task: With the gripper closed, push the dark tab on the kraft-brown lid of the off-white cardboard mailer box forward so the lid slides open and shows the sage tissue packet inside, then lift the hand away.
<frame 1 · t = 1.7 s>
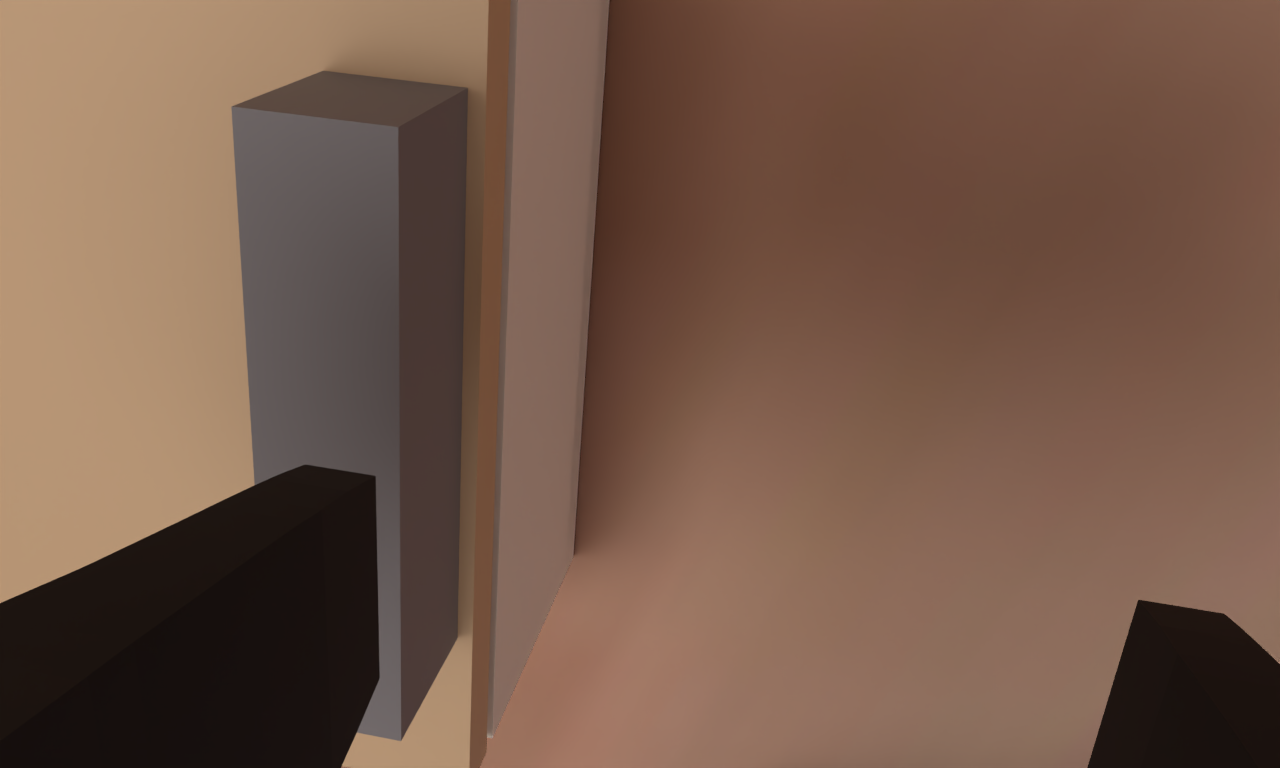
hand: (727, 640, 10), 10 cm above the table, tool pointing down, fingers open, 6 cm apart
mailer base: (190, 187, 21), on the table
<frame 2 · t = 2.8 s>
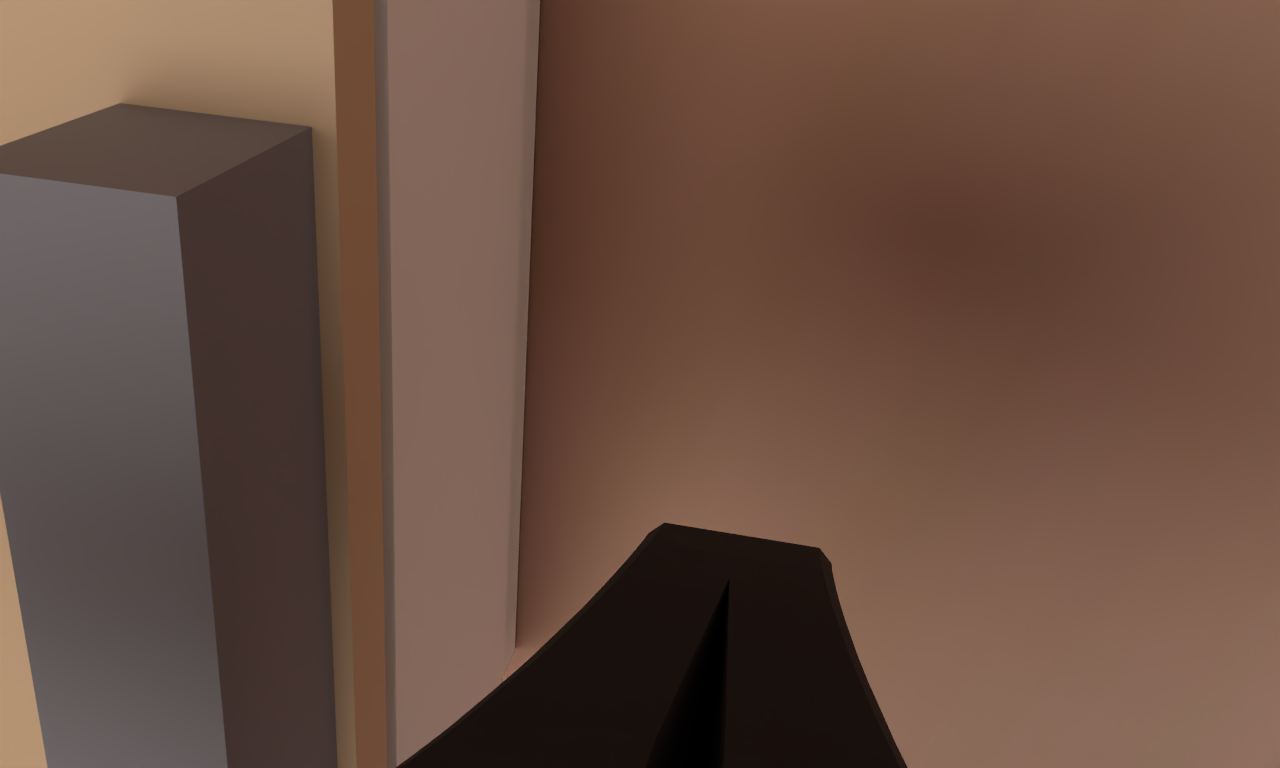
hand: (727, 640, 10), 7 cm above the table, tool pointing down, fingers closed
mailer base: (50, 221, 17), on the table
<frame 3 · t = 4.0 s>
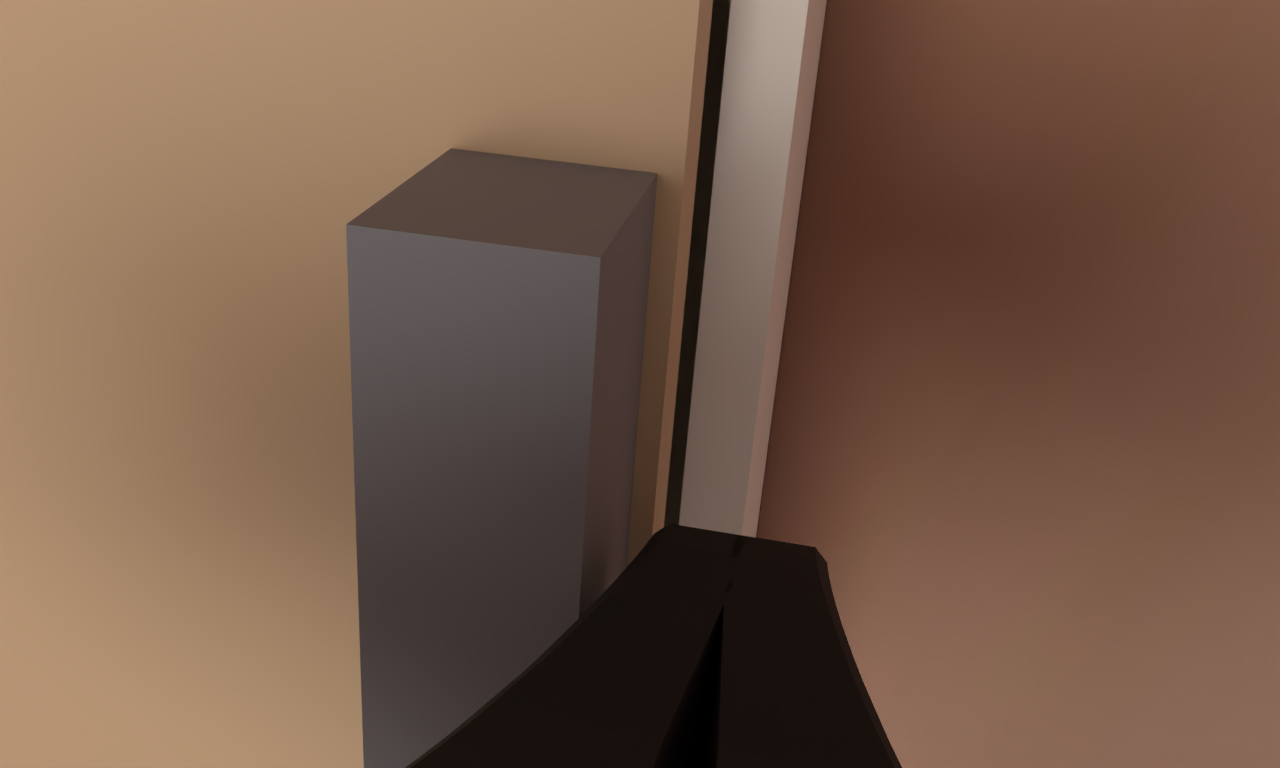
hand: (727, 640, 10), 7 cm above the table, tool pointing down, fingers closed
mailer base: (278, 257, 17), on the table
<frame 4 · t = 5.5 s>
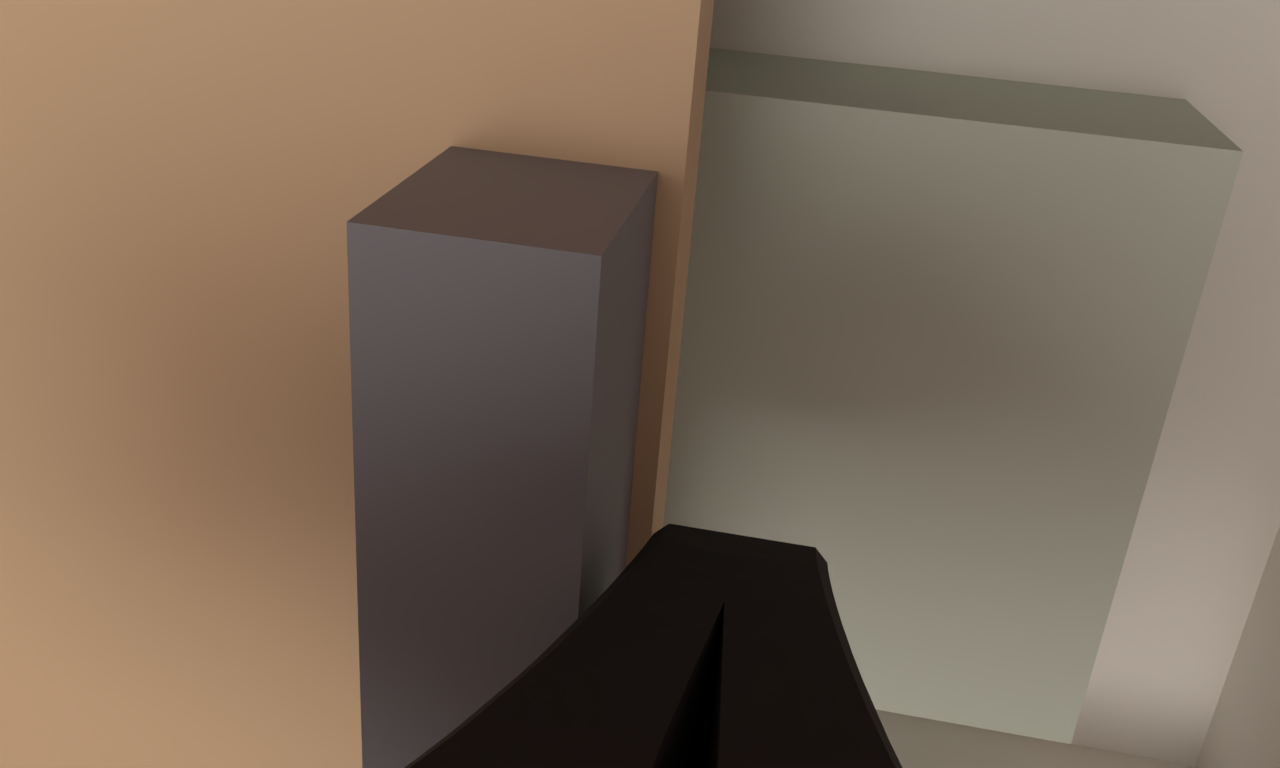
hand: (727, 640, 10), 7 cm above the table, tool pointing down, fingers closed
mailer base: (784, 324, 16), on the table
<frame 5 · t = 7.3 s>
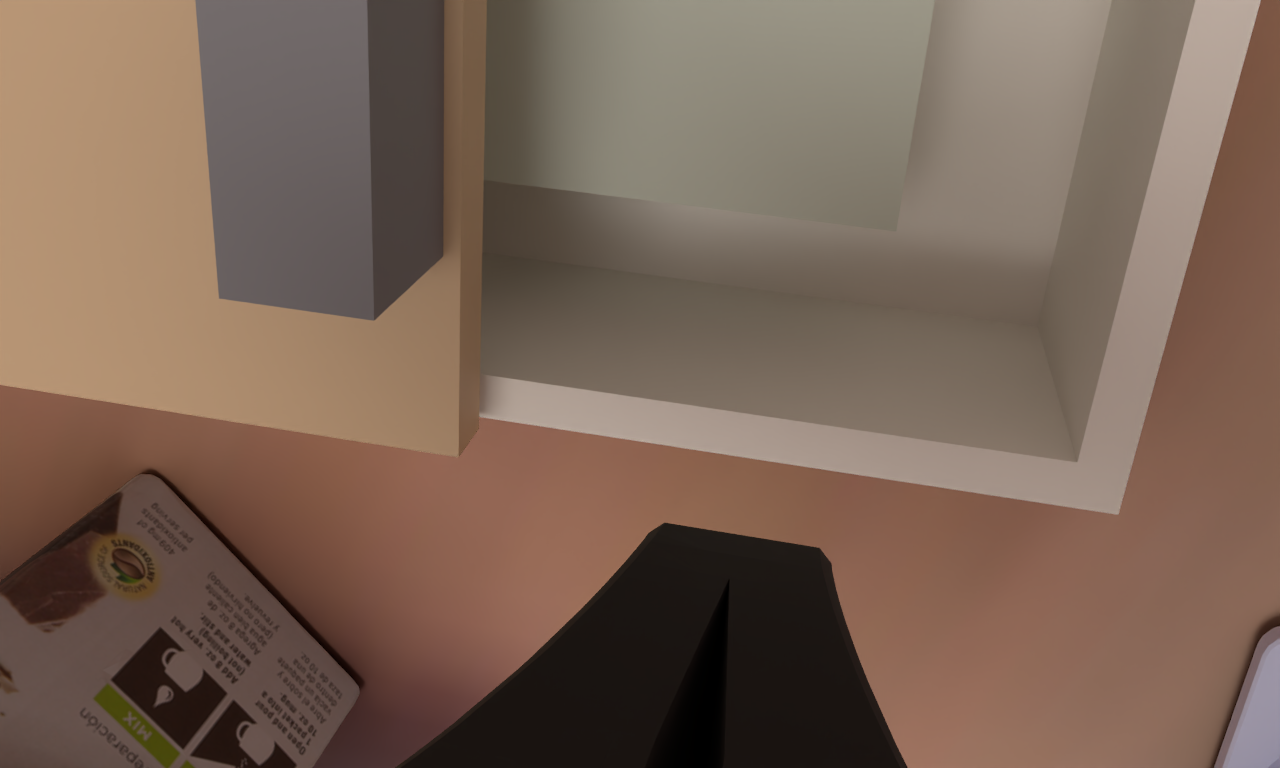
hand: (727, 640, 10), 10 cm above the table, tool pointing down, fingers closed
coffee box: (131, 669, 26), on the table
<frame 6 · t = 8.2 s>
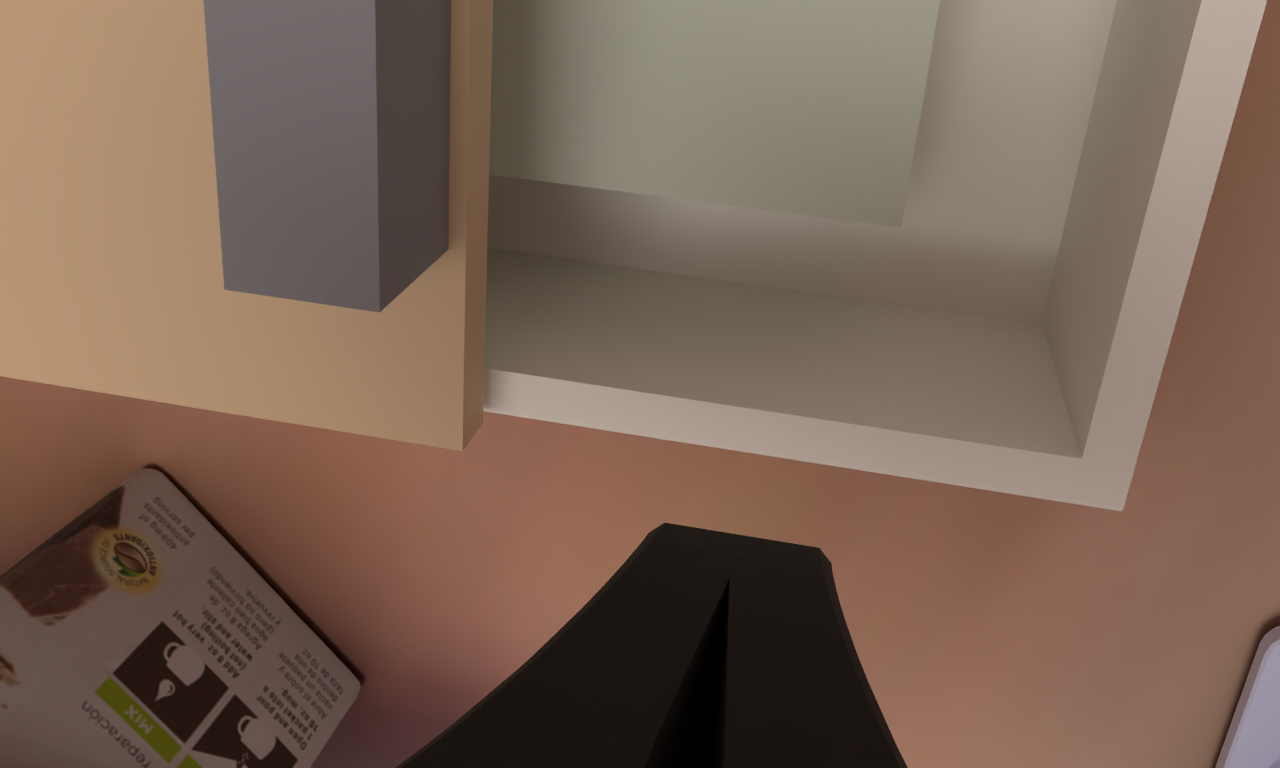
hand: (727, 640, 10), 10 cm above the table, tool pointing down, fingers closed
coffee box: (131, 665, 26), on the table
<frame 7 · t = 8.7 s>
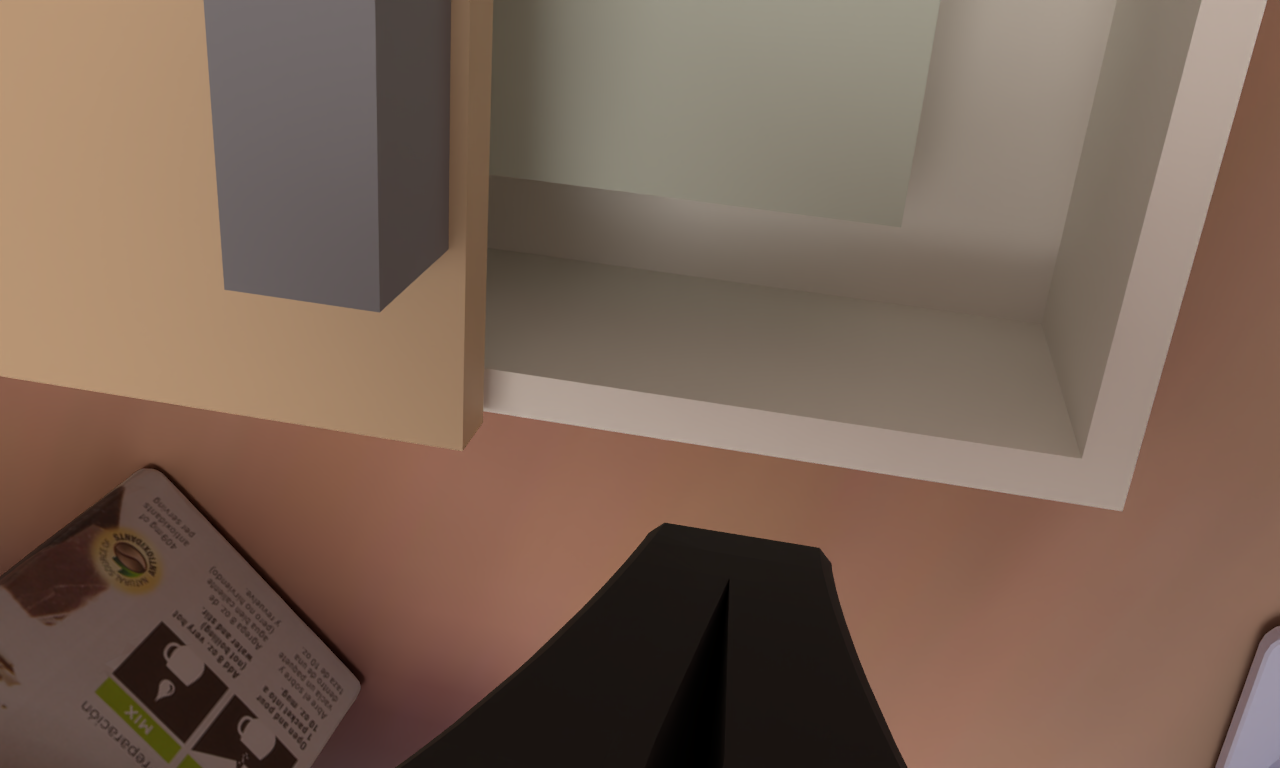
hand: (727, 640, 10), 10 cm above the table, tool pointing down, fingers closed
coffee box: (131, 664, 26), on the table
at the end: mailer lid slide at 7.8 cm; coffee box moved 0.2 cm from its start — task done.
